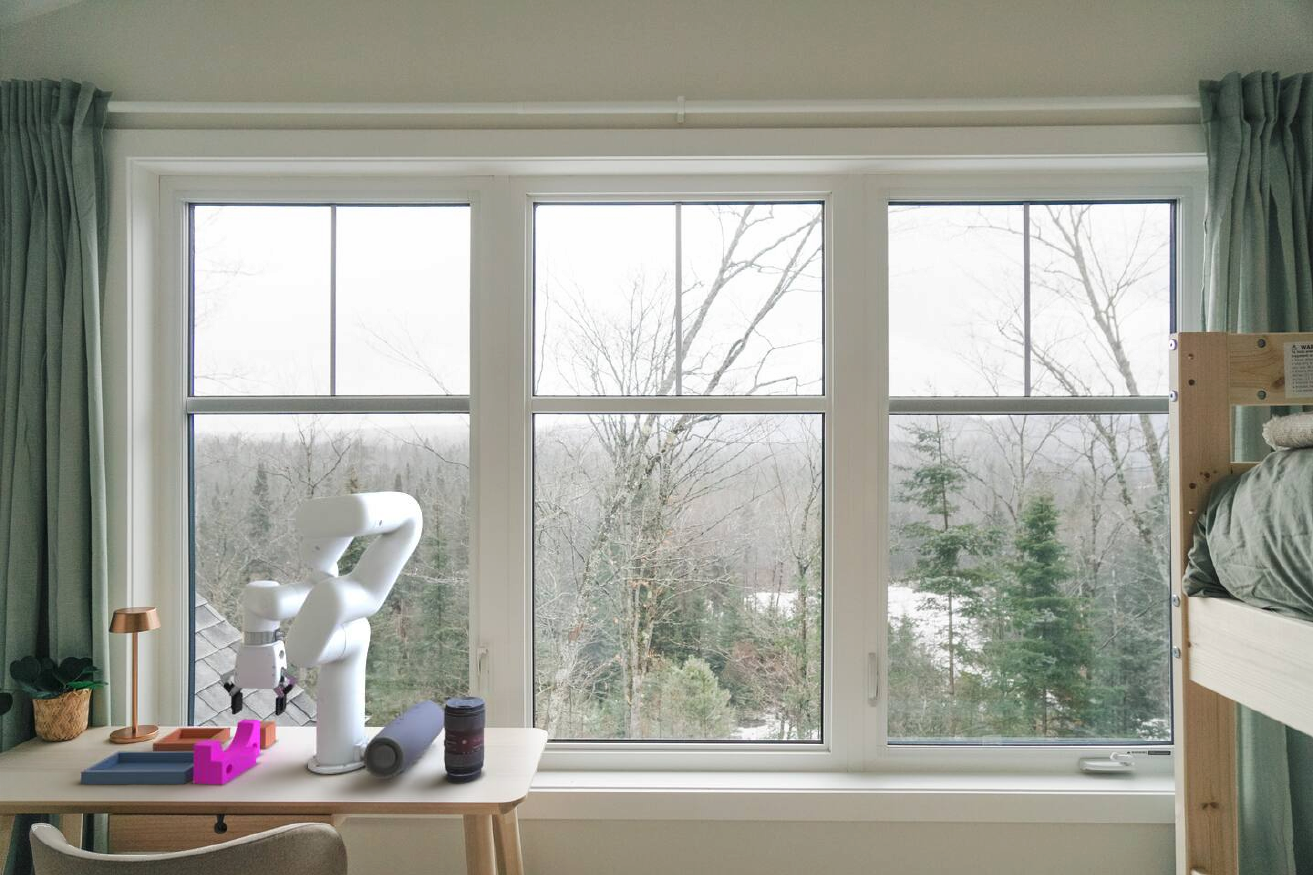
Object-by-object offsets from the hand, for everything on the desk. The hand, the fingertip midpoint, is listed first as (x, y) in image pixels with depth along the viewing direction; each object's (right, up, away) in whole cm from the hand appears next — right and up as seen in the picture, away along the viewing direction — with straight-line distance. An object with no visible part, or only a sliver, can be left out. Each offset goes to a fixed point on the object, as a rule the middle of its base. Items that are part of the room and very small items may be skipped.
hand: (258, 712), depth 174 cm
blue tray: (-14, -7, -15) cm, 22 cm away
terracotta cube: (+1, -7, 0) cm, 7 cm away
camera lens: (+51, -7, -17) cm, 54 cm away
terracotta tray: (-14, -7, -1) cm, 16 cm away
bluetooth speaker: (+37, -7, -10) cm, 39 cm away
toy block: (+2, -7, -13) cm, 15 cm away
